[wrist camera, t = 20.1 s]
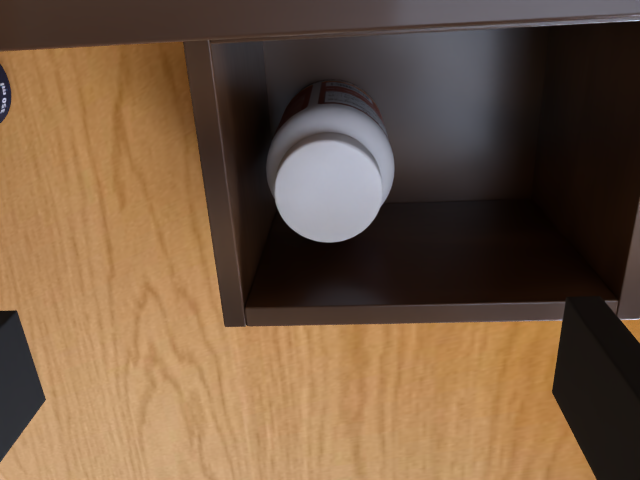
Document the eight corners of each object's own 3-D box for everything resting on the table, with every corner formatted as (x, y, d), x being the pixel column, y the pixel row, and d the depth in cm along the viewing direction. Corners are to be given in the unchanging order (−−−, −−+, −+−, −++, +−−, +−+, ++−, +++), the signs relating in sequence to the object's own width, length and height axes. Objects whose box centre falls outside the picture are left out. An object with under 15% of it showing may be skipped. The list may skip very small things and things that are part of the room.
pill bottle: (300, 190, 35) (282, 274, 25) (267, 96, 33) (232, 147, 23) (395, 163, 34) (416, 239, 24) (368, 64, 32) (379, 102, 22)
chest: (540, 207, 36) (640, 319, 24) (265, 215, 37) (224, 327, 25) (566, -13, 31) (711, -15, 18) (244, 5, 32) (178, 15, 20)
